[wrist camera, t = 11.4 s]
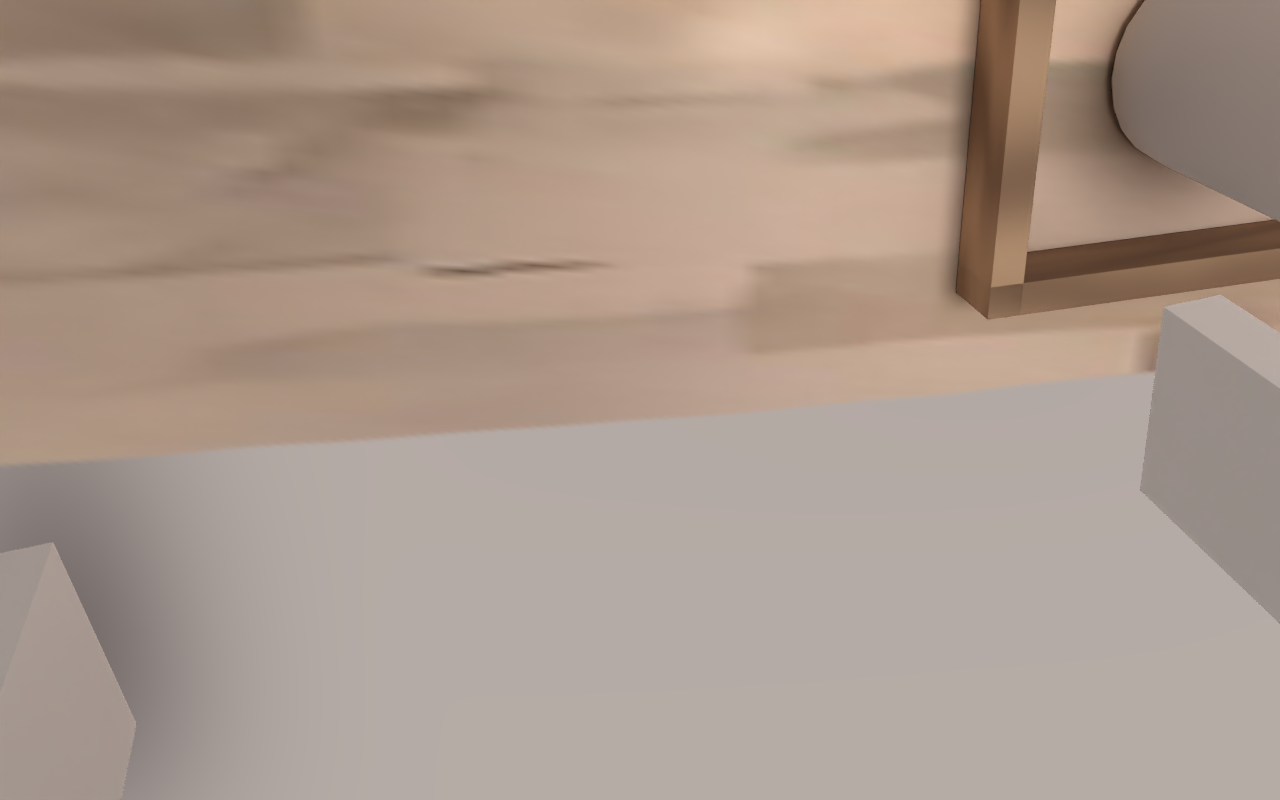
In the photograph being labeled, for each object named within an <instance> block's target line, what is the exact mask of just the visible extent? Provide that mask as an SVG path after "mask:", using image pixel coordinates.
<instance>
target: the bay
mask: <svg viewBox="0 0 1280 800" xmlns="http://www.w3.org/2000/svg"><path fill="white" fill-rule="evenodd" d="M1055 5H1056V0H981V8H980V19H979V31H978V42H977V54H976V66H975V77H974V89H973V101H972V112H971V124H970V135H969V147H968V159H967V170H966V182H965V194H964V205H963V217H962V229H961V240H960V252H959V263H958V275H957V287H956V293H958V294H959V295H960V296H961V297H962V298H963V299H965V300H966V301H967V302H968V303H969V304H970V305H971V306H973V307H974V308H975V309H976V310H977V311H978V312H980V313H981V314H982V315H983V316H984V317H985V318H987V319H995V318H1002V317H1009V316H1017V315H1024V314H1031V313H1038V312H1045V311H1052V310H1059V309H1067V308H1074V307H1081V306H1088V305H1095V304H1102V303H1109V302H1116V301H1124V300H1131V299H1138V298H1145V297H1152V296H1159V295H1166V294H1174V293H1181V292H1188V291H1195V290H1202V289H1209V288H1216V287H1224V286H1231V285H1238V284H1245V283H1252V282H1259V281H1266V280H1273V279H1280V222H1279V221H1277V220H1272V221H1264V222H1256V223H1249V224H1241V225H1233V226H1226V227H1218V228H1210V229H1203V230H1195V231H1188V232H1180V233H1172V234H1165V235H1157V236H1149V237H1142V238H1134V239H1126V240H1119V241H1111V242H1104V243H1096V244H1088V245H1081V246H1073V247H1065V248H1058V249H1050V250H1043V251H1035V252H1027V248H1028V240H1029V231H1030V222H1031V213H1032V205H1033V196H1034V187H1035V179H1036V170H1037V161H1038V153H1039V144H1040V135H1041V126H1042V118H1043V109H1044V100H1045V92H1046V83H1047V74H1048V65H1049V57H1050V48H1051V39H1052V31H1053V22H1054V13H1055Z"/></svg>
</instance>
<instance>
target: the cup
mask: <svg viewBox="0 0 1280 800" xmlns="http://www.w3.org/2000/svg"><path fill="white" fill-rule="evenodd" d="M1112 92H1113V107H1114V110H1115V113H1116V116H1117V119H1118V122H1119V124H1120V127H1121V130H1122V131H1123V133H1124V134H1125V135H1126V136H1127V138H1128V139H1129V140H1130V142H1131V143H1132V144H1133V145H1134V147H1135V148H1137V149H1138V150H1140V151H1142V152H1143V153H1145V154H1146V155H1148V156H1149V157H1151V158H1153V159H1154V160H1156V161H1157V162H1159V163H1161V164H1162V165H1164V166H1166V167H1168V168H1170V169H1172V170H1174V171H1176V172H1178V173H1180V174H1182V175H1184V176H1186V177H1188V178H1190V179H1193V180H1195V181H1197V182H1199V183H1201V184H1203V185H1205V186H1207V187H1209V188H1211V189H1213V190H1215V191H1217V192H1219V193H1221V194H1224V195H1226V196H1228V197H1230V198H1232V199H1234V200H1236V201H1238V202H1240V203H1242V204H1244V205H1246V206H1248V207H1250V208H1252V209H1255V210H1257V211H1259V212H1261V213H1263V214H1265V215H1267V216H1269V217H1271V218H1273V219H1275V220H1277V221H1279V222H1280V0H1145V1H1144V2H1143V3H1142V4H1141V6H1140V7H1139V9H1138V10H1137V12H1136V13H1135V15H1134V16H1133V18H1132V19H1131V21H1130V22H1129V24H1128V25H1127V27H1126V30H1125V32H1124V35H1123V37H1122V40H1121V42H1120V45H1119V47H1118V49H1117V52H1116V57H1115V63H1114V69H1113V74H1112Z"/></svg>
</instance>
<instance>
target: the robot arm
mask: <svg viewBox="0 0 1280 800" xmlns="http://www.w3.org/2000/svg"><path fill="white" fill-rule="evenodd" d="M1140 490H1141V491H1142V492H1143V493H1144V494H1145V495H1146V496H1147V497H1148V498H1149V499H1150V500H1151V501H1152V502H1153V503H1154V504H1155V505H1156V506H1157V507H1158V508H1159V509H1160V510H1161V511H1163V512H1164V513H1165V514H1166V515H1167V516H1168V517H1169V518H1170V519H1171V520H1172V521H1173V522H1174V523H1175V524H1176V525H1177V526H1178V527H1179V528H1180V529H1181V530H1183V532H1185V533H1186V534H1187V535H1188V536H1189V537H1190V538H1191V539H1192V540H1193V541H1194V542H1195V543H1196V544H1197V545H1198V546H1199V547H1200V548H1201V549H1202V550H1203V551H1204V552H1205V553H1207V554H1208V555H1209V556H1210V557H1211V558H1212V559H1213V560H1214V561H1215V562H1216V563H1217V564H1218V565H1219V566H1220V567H1221V568H1222V569H1223V570H1224V571H1225V572H1226V573H1227V574H1229V575H1230V576H1231V577H1232V578H1233V579H1234V580H1235V581H1236V582H1237V583H1238V584H1239V585H1240V586H1241V587H1242V588H1243V589H1244V590H1245V591H1246V592H1247V593H1248V594H1249V595H1251V597H1253V598H1254V599H1255V600H1256V601H1257V602H1258V603H1259V604H1260V605H1261V606H1262V607H1263V608H1264V609H1265V610H1266V611H1267V612H1268V613H1269V614H1270V615H1271V616H1272V617H1274V618H1275V619H1276V620H1277V621H1278V622H1279V623H1280V333H1279V332H1278V331H1276V330H1275V329H1273V328H1271V327H1270V326H1268V325H1267V324H1265V323H1264V322H1262V321H1261V320H1259V319H1258V318H1256V317H1254V316H1253V315H1251V314H1250V313H1248V312H1247V311H1245V310H1244V309H1242V308H1241V307H1239V306H1237V305H1236V304H1234V303H1233V302H1231V301H1230V300H1228V299H1227V298H1225V297H1223V296H1222V295H1217V296H1212V297H1207V298H1203V299H1198V300H1193V301H1188V302H1184V303H1179V304H1174V305H1170V306H1165V307H1164V310H1163V317H1162V325H1161V333H1160V340H1159V348H1158V356H1157V363H1156V371H1155V379H1154V386H1153V394H1152V402H1151V410H1150V417H1149V425H1148V432H1147V440H1146V448H1145V456H1144V463H1143V471H1142V479H1141V486H1140ZM135 729H136V722H135V720H134V717H133V716H132V713H131V711H130V709H129V706H128V704H127V703H126V700H125V698H124V696H123V693H122V692H121V689H120V687H119V685H118V683H117V680H116V678H115V676H114V674H113V672H112V670H111V667H110V665H109V663H108V661H107V659H106V656H105V655H104V652H103V650H102V648H101V646H100V644H99V641H98V639H97V637H96V635H95V632H94V631H93V628H92V626H91V624H90V622H89V619H88V617H87V615H86V613H85V611H84V609H83V606H82V605H81V602H80V600H79V598H78V596H77V593H76V591H75V589H74V587H73V585H72V583H71V581H70V578H69V576H68V574H67V572H66V569H65V567H64V565H63V563H62V561H61V559H60V556H59V554H58V552H57V550H56V548H55V545H54V543H53V542H51V543H46V544H41V545H37V546H32V547H27V548H22V549H17V550H13V551H8V552H3V553H0V800H121V798H122V793H123V788H124V784H125V779H126V773H127V769H128V764H129V759H130V753H131V749H132V744H133V738H134V734H135Z"/></svg>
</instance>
